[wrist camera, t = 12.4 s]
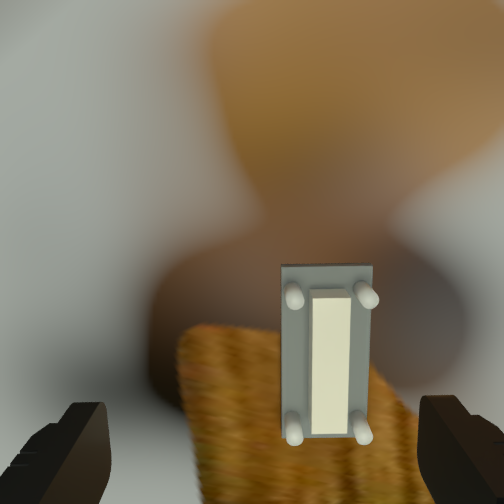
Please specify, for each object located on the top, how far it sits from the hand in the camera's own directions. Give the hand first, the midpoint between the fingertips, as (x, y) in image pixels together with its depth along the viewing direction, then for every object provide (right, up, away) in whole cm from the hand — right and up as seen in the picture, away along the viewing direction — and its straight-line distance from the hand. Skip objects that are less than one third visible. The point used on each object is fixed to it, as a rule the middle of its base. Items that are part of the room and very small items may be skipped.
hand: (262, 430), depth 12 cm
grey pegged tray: (+6, -4, +30) cm, 31 cm away
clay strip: (+6, -4, +29) cm, 30 cm away
